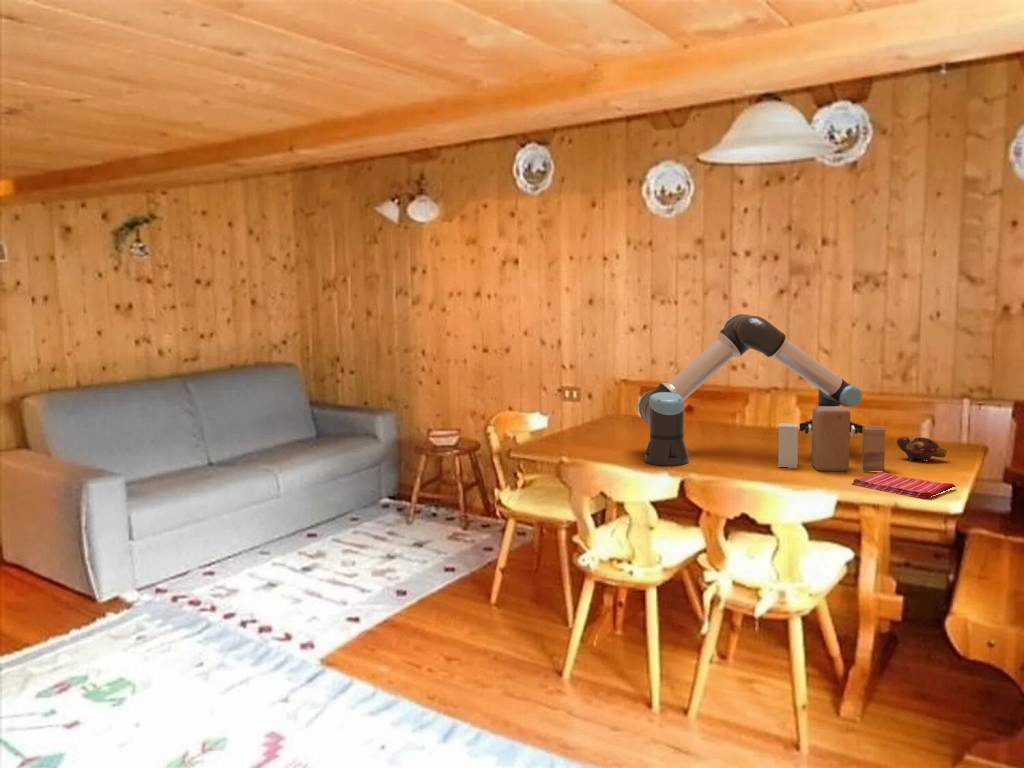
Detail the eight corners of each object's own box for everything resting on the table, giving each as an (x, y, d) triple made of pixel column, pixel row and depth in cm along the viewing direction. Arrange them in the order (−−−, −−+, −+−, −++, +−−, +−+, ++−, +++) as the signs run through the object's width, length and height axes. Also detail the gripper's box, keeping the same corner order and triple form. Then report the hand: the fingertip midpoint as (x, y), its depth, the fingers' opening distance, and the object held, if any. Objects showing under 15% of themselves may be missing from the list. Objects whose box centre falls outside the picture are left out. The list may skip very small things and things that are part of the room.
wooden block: (849, 471, 261) (851, 410, 259) (817, 471, 263) (818, 410, 260) (842, 464, 271) (843, 405, 268) (810, 464, 273) (812, 405, 270)
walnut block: (883, 472, 259) (885, 429, 257) (863, 471, 261) (864, 429, 259) (882, 468, 264) (883, 426, 262) (862, 467, 266) (863, 425, 265)
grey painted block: (797, 468, 268) (798, 426, 266) (778, 467, 270) (778, 426, 268) (797, 464, 273) (798, 423, 271) (778, 463, 275) (779, 423, 273)
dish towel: (928, 502, 227) (929, 492, 227) (850, 486, 246) (850, 477, 245) (958, 491, 237) (958, 482, 237) (880, 477, 256) (880, 468, 256)
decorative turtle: (894, 455, 282) (896, 433, 281) (943, 461, 276) (946, 438, 275) (896, 460, 273) (898, 437, 272) (946, 466, 267) (949, 442, 266)
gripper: (867, 433, 287) (872, 445, 267) (792, 430, 295) (792, 441, 275) (867, 412, 286) (872, 422, 266) (792, 410, 294) (792, 420, 275)
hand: (831, 432), depth 271 cm, fingers open, 13 cm apart
